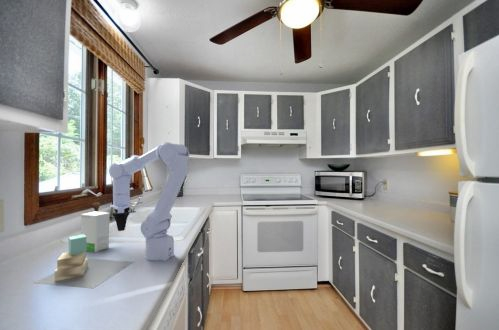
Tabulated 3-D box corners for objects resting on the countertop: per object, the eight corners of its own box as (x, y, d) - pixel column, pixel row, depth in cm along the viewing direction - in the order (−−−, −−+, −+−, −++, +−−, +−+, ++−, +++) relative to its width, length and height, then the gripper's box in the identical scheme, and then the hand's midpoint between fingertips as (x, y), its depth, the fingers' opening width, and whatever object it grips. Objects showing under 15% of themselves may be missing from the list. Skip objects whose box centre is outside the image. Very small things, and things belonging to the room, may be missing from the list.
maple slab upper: (85, 258, 74) (85, 249, 74) (82, 265, 69) (82, 256, 69) (62, 262, 71) (62, 253, 71) (57, 270, 66) (57, 260, 66)
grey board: (134, 264, 78) (134, 261, 78) (93, 291, 61) (93, 288, 61) (85, 261, 81) (85, 258, 81) (33, 286, 65) (33, 282, 65)
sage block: (83, 248, 75) (83, 234, 75) (86, 252, 72) (86, 236, 72) (68, 252, 72) (68, 237, 72) (70, 255, 69) (70, 239, 69)
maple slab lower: (87, 266, 75) (87, 257, 75) (83, 275, 69) (83, 265, 69) (61, 271, 72) (61, 262, 72) (54, 281, 65) (54, 271, 65)
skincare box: (79, 252, 89) (79, 214, 89) (94, 246, 96) (94, 211, 96) (96, 254, 87) (95, 215, 87) (110, 248, 94) (110, 211, 94)
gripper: (111, 192, 92) (111, 225, 92) (107, 196, 79) (108, 234, 79) (130, 191, 95) (130, 222, 95) (130, 195, 82) (130, 231, 82)
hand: (121, 228), depth 87 cm, fingers open, 7 cm apart
